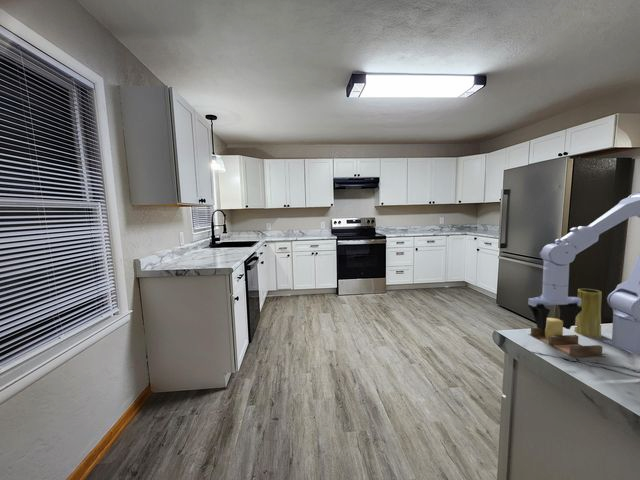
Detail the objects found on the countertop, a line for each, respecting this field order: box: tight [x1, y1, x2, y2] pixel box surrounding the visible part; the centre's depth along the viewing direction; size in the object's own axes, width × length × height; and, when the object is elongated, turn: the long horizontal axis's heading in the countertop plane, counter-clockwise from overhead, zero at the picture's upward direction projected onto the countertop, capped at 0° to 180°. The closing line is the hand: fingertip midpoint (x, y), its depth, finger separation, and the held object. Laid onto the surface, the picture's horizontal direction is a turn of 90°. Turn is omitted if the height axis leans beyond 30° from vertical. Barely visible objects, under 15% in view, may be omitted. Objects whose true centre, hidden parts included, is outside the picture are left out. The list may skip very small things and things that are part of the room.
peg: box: [545, 317, 564, 340], centre depth 80 cm, size 4×4×6 cm
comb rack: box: [527, 326, 606, 359], centre depth 77 cm, size 9×15×3 cm, turn 1°
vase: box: [573, 288, 603, 339], centre depth 83 cm, size 6×6×14 cm
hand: (553, 328), depth 80 cm, fingers open, 7 cm apart
